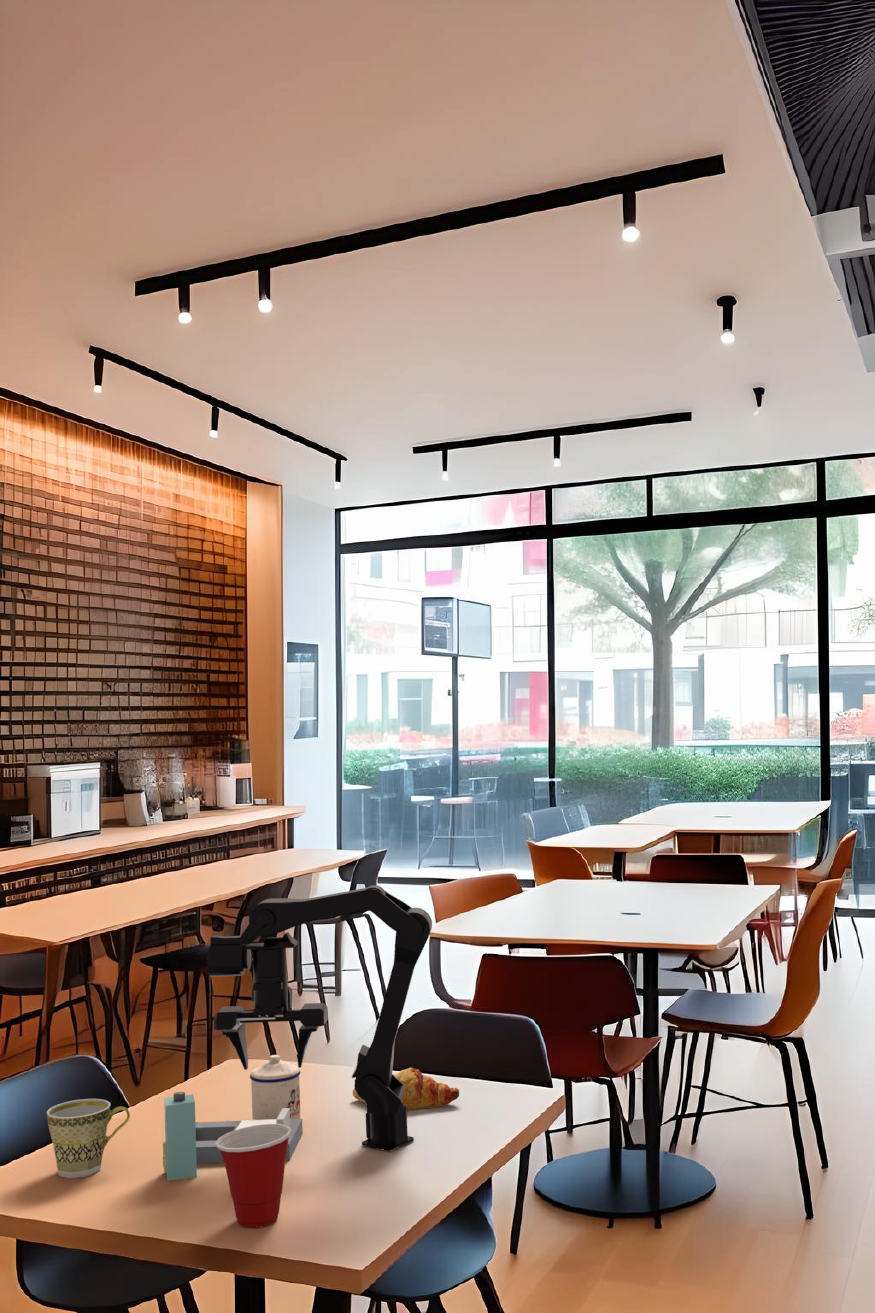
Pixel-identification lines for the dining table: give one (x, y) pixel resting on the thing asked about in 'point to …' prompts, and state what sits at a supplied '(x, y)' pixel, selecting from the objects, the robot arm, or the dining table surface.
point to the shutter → (269, 1120)
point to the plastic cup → (255, 1171)
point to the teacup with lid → (275, 1089)
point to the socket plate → (213, 1130)
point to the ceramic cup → (81, 1135)
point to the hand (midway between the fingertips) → (273, 1068)
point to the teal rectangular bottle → (180, 1137)
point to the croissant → (422, 1091)
